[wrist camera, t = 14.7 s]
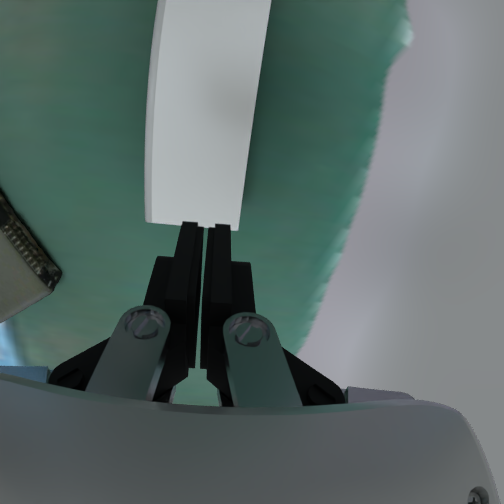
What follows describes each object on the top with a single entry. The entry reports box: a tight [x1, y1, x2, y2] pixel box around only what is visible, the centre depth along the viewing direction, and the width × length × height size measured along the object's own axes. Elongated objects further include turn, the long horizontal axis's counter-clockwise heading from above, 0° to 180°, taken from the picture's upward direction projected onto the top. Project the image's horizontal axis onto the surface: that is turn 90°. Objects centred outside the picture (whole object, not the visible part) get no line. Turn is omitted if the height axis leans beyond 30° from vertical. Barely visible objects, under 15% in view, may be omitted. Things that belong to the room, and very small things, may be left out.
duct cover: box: [144, 0, 271, 231], centre depth 23 cm, size 24×9×1 cm, turn 172°
